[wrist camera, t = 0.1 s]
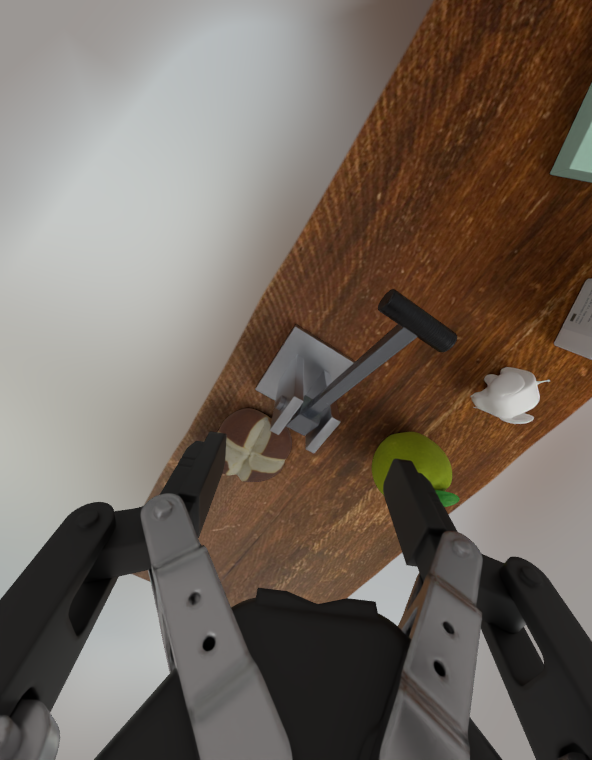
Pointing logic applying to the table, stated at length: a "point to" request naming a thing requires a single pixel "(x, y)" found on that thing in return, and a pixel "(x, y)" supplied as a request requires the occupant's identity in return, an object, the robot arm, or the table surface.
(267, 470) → the bread
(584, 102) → the button box
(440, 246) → the table surface
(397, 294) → the lever
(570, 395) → the table surface
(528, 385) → the elephant figurine
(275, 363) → the bracket
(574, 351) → the container
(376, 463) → the fruit
